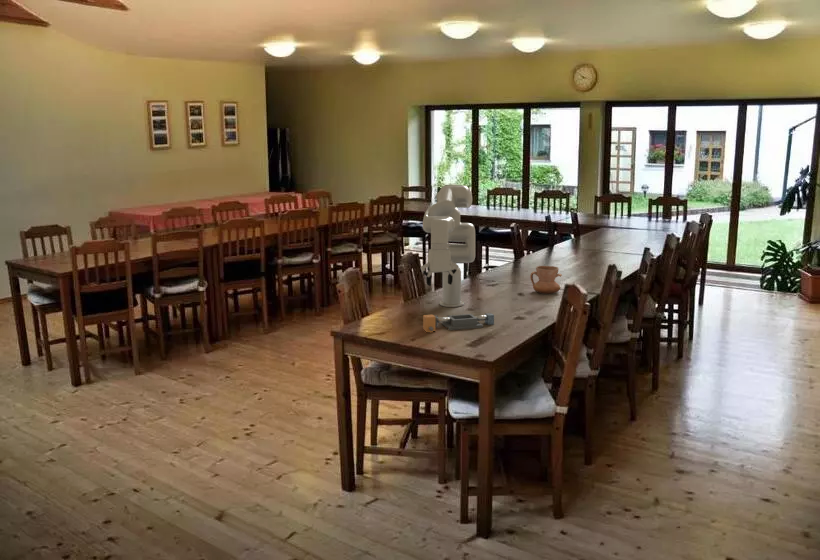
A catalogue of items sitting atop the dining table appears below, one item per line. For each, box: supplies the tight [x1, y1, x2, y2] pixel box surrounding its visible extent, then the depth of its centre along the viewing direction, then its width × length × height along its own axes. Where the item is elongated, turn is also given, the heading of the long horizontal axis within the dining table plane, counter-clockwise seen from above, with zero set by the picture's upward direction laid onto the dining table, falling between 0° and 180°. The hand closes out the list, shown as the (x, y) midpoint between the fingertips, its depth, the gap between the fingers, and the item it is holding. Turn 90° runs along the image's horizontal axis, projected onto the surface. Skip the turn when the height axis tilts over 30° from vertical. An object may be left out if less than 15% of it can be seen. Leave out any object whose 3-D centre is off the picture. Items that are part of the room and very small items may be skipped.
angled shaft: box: [434, 315, 450, 328], centre depth 327 cm, size 9×4×4 cm, turn 80°
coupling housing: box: [441, 313, 484, 331], centre depth 327 cm, size 11×16×4 cm
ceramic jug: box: [529, 265, 563, 295], centre depth 391 cm, size 18×14×14 cm
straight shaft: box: [474, 312, 495, 326], centre depth 330 cm, size 9×4×4 cm, turn 105°
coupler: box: [422, 314, 436, 333], centre depth 319 cm, size 4×8×7 cm, turn 15°
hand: (439, 284), depth 316 cm, fingers open, 9 cm apart
